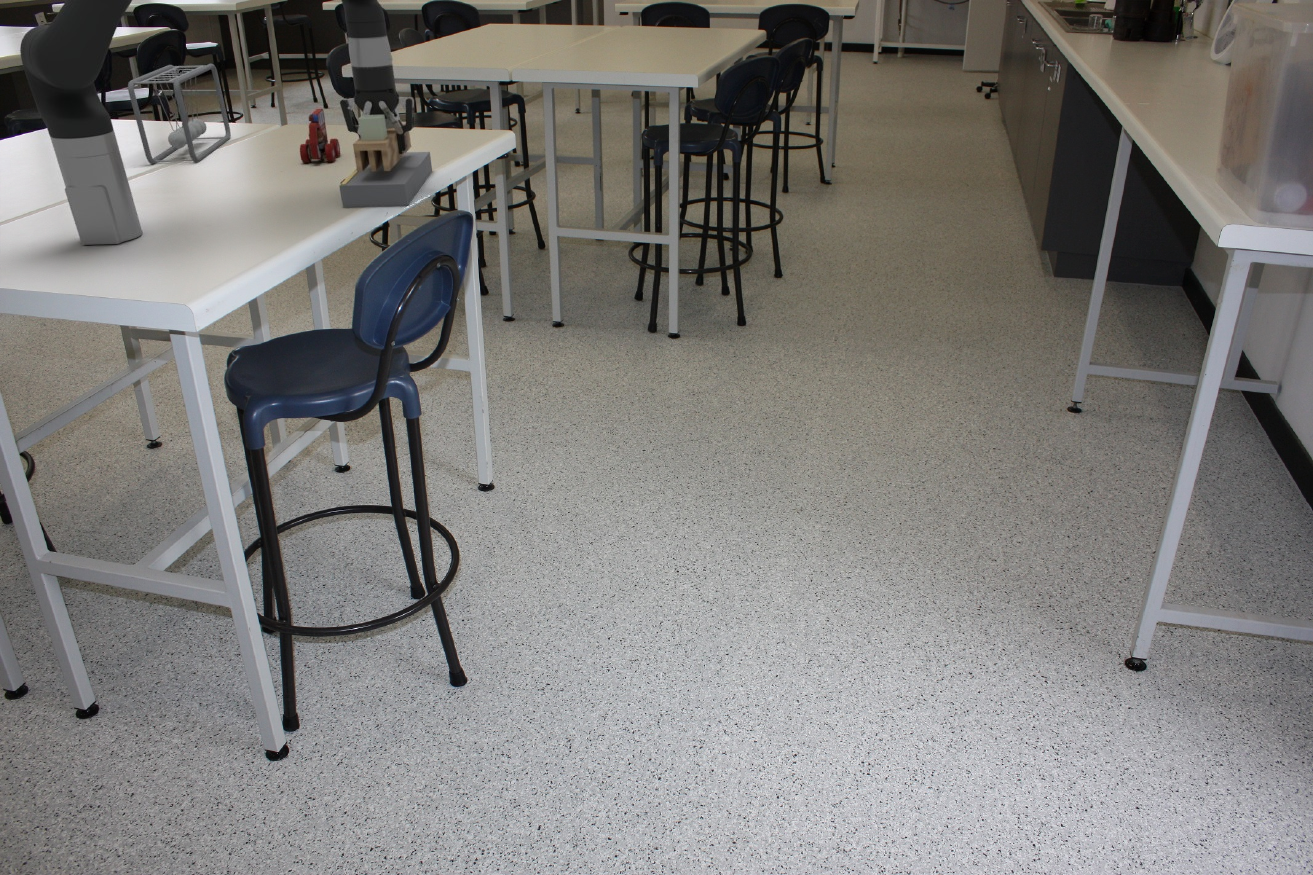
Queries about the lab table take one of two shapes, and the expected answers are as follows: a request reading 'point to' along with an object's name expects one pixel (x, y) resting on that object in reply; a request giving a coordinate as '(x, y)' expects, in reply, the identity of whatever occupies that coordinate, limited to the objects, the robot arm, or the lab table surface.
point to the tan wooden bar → (379, 152)
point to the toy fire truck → (319, 140)
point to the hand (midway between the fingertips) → (385, 153)
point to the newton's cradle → (189, 128)
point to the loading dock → (387, 183)
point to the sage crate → (372, 127)
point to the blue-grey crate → (388, 124)
